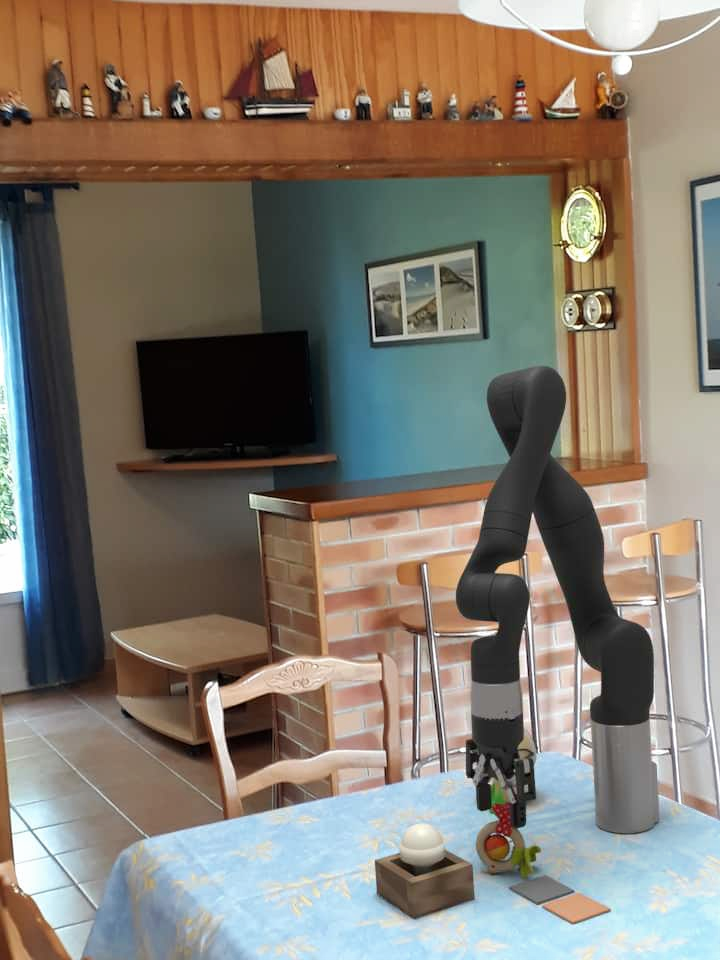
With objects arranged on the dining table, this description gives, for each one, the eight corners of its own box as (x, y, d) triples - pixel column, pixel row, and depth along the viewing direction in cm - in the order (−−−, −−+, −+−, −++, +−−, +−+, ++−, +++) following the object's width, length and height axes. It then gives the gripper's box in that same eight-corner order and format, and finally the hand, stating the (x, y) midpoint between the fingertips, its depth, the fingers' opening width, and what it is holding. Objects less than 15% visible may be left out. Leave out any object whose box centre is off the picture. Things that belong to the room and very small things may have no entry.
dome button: (430, 862, 173) (427, 813, 172) (455, 876, 167) (452, 825, 167) (392, 873, 170) (389, 823, 169) (416, 888, 164) (413, 836, 163)
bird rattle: (492, 896, 172) (549, 873, 170) (457, 827, 172) (514, 803, 170) (496, 879, 178) (550, 855, 176) (462, 812, 178) (516, 788, 176)
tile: (579, 894, 166) (579, 892, 166) (610, 910, 160) (610, 908, 160) (542, 907, 163) (541, 905, 163) (572, 924, 157) (572, 922, 157)
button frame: (435, 876, 175) (433, 842, 175) (474, 899, 167) (472, 864, 166) (376, 894, 170) (374, 860, 170) (414, 918, 162) (411, 883, 161)
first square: (545, 877, 172) (545, 875, 172) (574, 892, 167) (574, 890, 167) (508, 888, 169) (508, 886, 169) (537, 904, 164) (537, 902, 164)
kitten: (528, 819, 195) (523, 729, 194) (469, 815, 199) (464, 727, 198) (547, 788, 209) (542, 704, 208) (492, 785, 213) (487, 702, 212)
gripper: (448, 703, 178) (453, 809, 179) (504, 724, 165) (508, 839, 166) (490, 695, 181) (494, 799, 182) (547, 715, 169) (551, 827, 170)
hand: (501, 818), depth 174 cm, fingers open, 8 cm apart
